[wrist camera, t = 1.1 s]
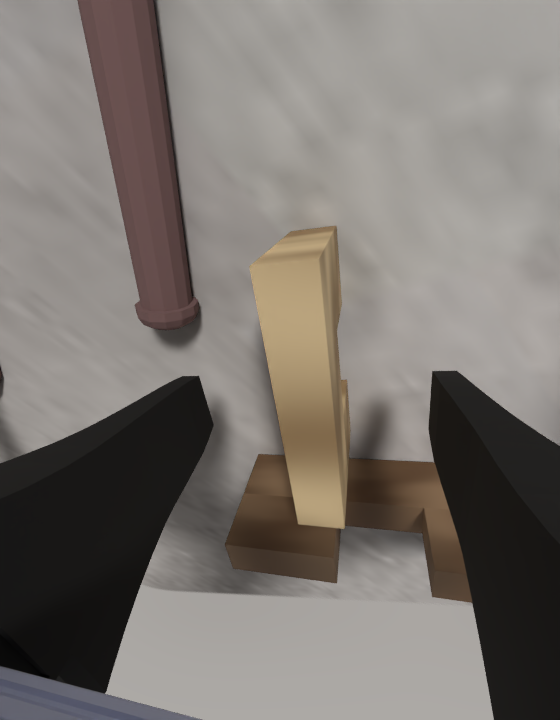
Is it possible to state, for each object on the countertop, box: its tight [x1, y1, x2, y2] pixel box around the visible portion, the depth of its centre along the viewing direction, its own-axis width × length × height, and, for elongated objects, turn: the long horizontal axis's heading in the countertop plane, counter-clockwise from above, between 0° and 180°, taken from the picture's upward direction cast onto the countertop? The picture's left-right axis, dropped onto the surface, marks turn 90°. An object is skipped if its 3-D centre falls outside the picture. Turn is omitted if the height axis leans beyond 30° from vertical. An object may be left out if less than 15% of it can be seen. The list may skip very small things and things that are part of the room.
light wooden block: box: [249, 226, 350, 529], centre depth 12 cm, size 9×2×5 cm, turn 9°
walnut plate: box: [225, 454, 472, 603], centre depth 14 cm, size 12×2×5 cm, turn 99°
